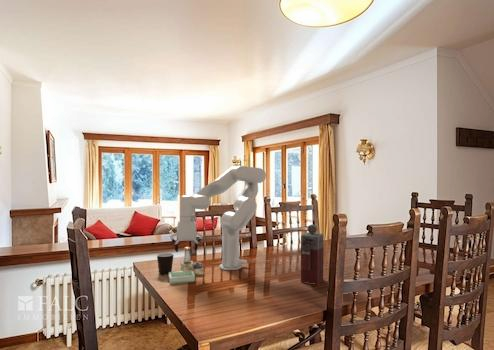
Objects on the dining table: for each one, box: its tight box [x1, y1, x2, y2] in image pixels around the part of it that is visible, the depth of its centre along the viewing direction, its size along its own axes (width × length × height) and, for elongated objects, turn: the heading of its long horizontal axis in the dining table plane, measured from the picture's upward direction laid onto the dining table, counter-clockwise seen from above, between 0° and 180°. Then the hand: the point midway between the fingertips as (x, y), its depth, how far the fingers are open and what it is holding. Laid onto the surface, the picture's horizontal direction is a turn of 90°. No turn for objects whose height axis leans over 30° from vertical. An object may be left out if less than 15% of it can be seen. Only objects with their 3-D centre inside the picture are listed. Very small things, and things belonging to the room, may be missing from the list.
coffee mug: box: [156, 252, 175, 276], centre depth 179 cm, size 12×9×10 cm
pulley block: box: [180, 260, 204, 276], centre depth 178 cm, size 11×7×6 cm, turn 107°
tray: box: [168, 270, 196, 285], centre depth 167 cm, size 12×10×3 cm
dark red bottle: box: [300, 224, 324, 285], centre depth 165 cm, size 9×11×28 cm
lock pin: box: [183, 246, 192, 264], centre depth 177 cm, size 3×3×11 cm
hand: (186, 251), depth 177 cm, fingers open, 9 cm apart
